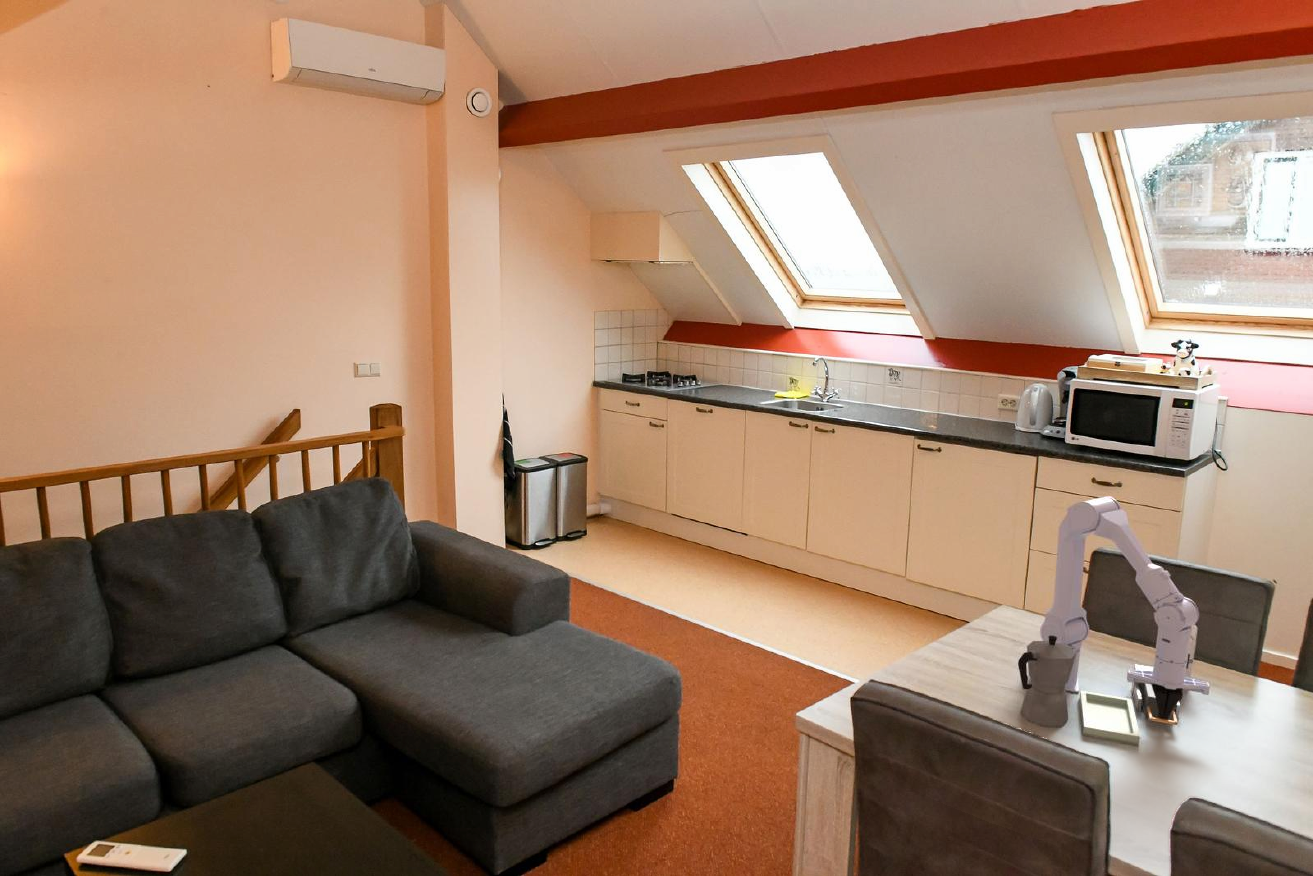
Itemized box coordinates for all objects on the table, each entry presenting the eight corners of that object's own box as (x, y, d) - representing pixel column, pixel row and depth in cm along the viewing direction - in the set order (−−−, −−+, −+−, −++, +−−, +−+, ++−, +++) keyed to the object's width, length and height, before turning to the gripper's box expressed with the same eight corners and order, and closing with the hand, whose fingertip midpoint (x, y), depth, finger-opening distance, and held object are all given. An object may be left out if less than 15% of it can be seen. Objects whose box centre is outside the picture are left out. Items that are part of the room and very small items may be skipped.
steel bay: (1136, 711, 197) (1139, 685, 196) (1131, 689, 207) (1134, 664, 206) (1179, 719, 194) (1182, 692, 193) (1171, 696, 204) (1175, 670, 203)
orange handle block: (1148, 730, 190) (1151, 707, 189) (1141, 702, 201) (1144, 681, 200) (1175, 735, 188) (1179, 712, 187) (1167, 706, 199) (1171, 685, 198)
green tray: (1083, 735, 187) (1084, 726, 187) (1079, 698, 202) (1080, 690, 202) (1138, 746, 183) (1140, 736, 183) (1130, 707, 199) (1131, 699, 198)
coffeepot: (1048, 700, 201) (1057, 622, 198) (1085, 720, 193) (1094, 639, 189) (995, 715, 195) (1003, 634, 191) (1031, 736, 186) (1040, 652, 183)
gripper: (1132, 659, 186) (1124, 721, 189) (1215, 672, 181) (1206, 736, 184) (1129, 645, 193) (1121, 706, 196) (1209, 657, 188) (1200, 719, 190)
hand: (1162, 719), depth 190 cm, fingers closed, pressing on orange handle block
